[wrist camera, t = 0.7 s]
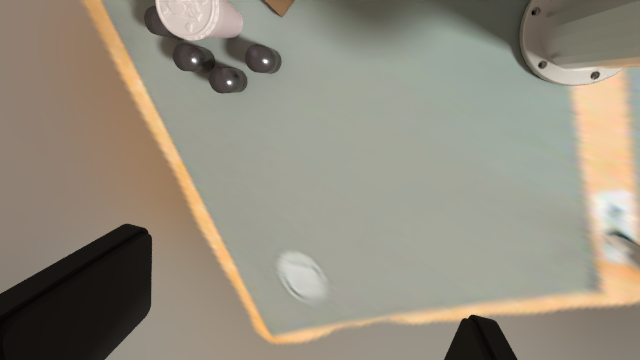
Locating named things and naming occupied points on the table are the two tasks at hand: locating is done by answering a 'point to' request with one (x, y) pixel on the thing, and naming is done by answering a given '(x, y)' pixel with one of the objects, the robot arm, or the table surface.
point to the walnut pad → (280, 5)
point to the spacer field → (204, 60)
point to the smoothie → (200, 18)
